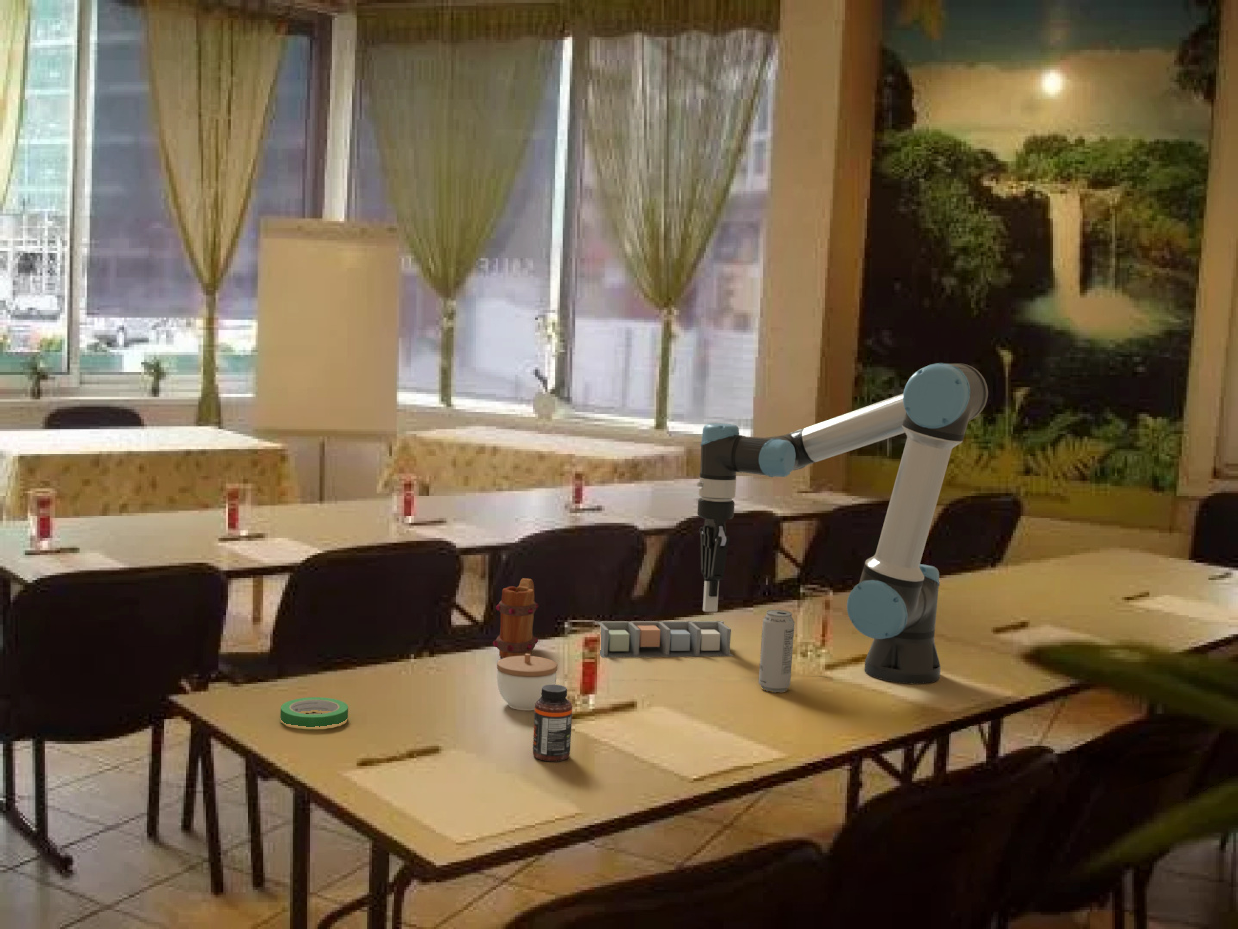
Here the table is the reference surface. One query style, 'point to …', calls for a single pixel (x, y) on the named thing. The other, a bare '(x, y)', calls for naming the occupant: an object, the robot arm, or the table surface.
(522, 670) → the lidded jar
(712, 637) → the ivory key
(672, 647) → the slate key
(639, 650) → the grey compartment rack
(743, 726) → the table surface
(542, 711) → the supplement bottle
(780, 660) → the energy drink can
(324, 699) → the tape roll
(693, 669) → the table surface
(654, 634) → the terracotta key
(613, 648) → the sage key
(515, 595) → the mug
